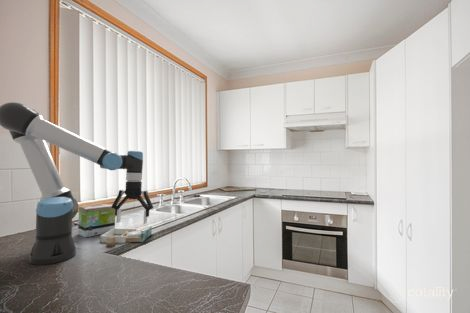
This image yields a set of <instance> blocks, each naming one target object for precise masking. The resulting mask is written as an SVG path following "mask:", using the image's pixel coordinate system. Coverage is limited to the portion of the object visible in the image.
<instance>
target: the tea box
mask: <svg viewBox="0 0 470 313" xmlns="http://www.w3.org/2000/svg"><path fill="white" fill-rule="evenodd" d="M112 205H113V204H109V203H101V204H94V205H93V204H92V205H84V206H78V221H77V224H78V225H77V226H78V227H77V235H79V236H81V237H83V238H90V237H93V236H98V235H99V236H101V235H103V234H105V233H106V232H108V231H110V230H112V229H113V228H116V227H115V226H116V216H115V209H114V208H112Z"/></svg>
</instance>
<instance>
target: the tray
mask: <svg viewBox="0 0 470 313" xmlns="http://www.w3.org/2000/svg"><path fill="white" fill-rule="evenodd" d="M139 231H140V232H142V234H141V237H139V238H138V237H127V233H128V232H132V231H127V232H126V233H124V234H120V236H126V242H127V243H129V242H140V243H144V242H145V240H147V239H148V238H149V237H150V236H152V226H149V227H147V229H145V230H139Z"/></svg>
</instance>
